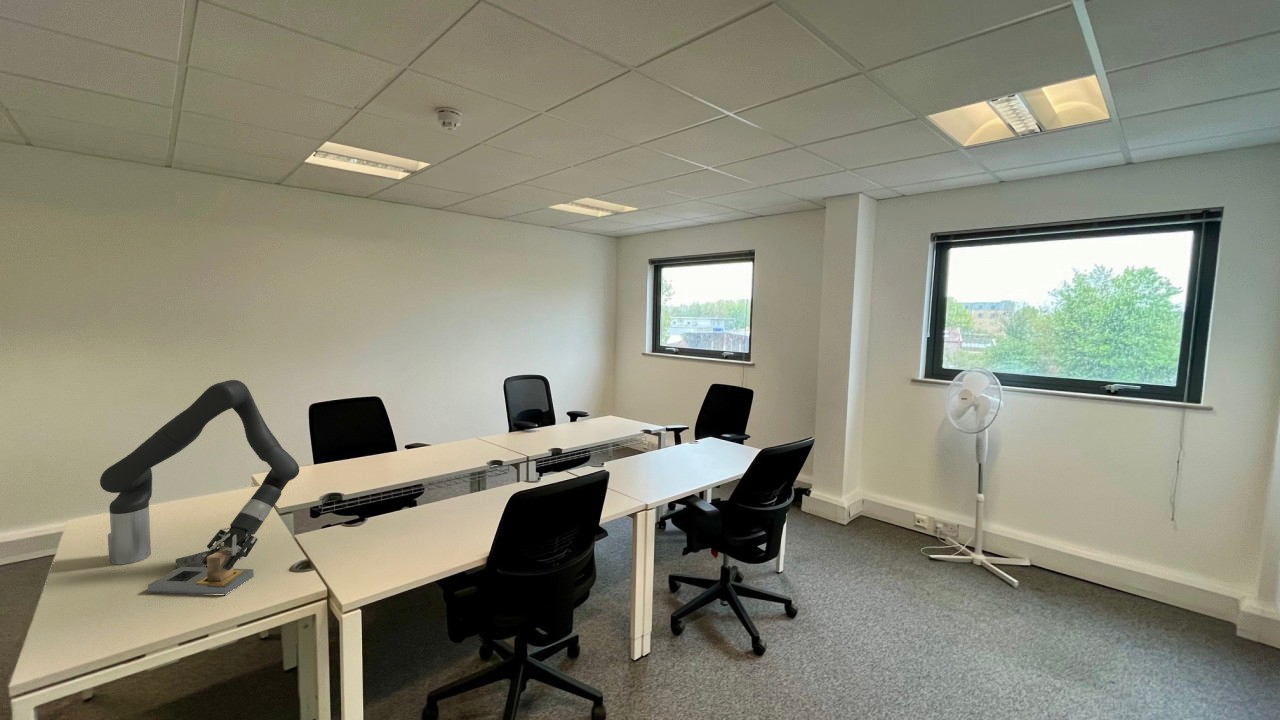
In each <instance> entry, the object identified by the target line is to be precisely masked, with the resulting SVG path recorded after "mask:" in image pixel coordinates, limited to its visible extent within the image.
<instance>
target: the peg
mask: <svg viewBox="0 0 1280 720" xmlns="http://www.w3.org/2000/svg"><path fill="white" fill-rule="evenodd" d="M232 553H233V551H222V550H220V551H218V552H216V553H214V554H212V555H210V556H208V557H207V567H206V568H207V579H208V582H223V581H225V580H226V579H228V578H229V577H231V576H232V575H234V569H235V568H234V566H233V567H232V568H231V569H230V570H226V569H224V568H223V566H224V564H225V563H226V562H227V560H228V559H229V557H230V556H233V555H232Z"/></svg>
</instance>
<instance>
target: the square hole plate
mask: <svg viewBox="0 0 1280 720" xmlns="http://www.w3.org/2000/svg"><path fill="white" fill-rule="evenodd" d="M254 574H255V573H254V569H250V568H234V575H232V576H231V577H229V578H228V579H226V580H225V581H223V582H208V579H207V567H180V568H176V569H174V570H172V571H171V572H169V573H167V574H166V575H163V576H162V577H160V578H158V579H156V580H154V581H153V582H150V583H149V584H147V589H148V591H147V592H148V594H167V595H169V594H170V595H172V594H173V595H190V594H224V595H226V594H227V593H228V592H230V591H232V590H233V589H235V588H236V589H238V588H239V587H241V586H242V585H244V584H245V583H247V582H248V581H249V579H250V580H251V579H252V577H253V578H254ZM186 578H190V579H187V580H186V581H182V580H184V579H186ZM246 581H247V582H246ZM244 582H245V583H244ZM243 583H244V584H243ZM241 584H242V585H241ZM240 585H241V586H240ZM238 586H239V587H238ZM237 587H238V588H237ZM236 589H235V590H236ZM233 591H234V590H233ZM233 591H232V592H233ZM230 593H231V592H230ZM227 595H228V594H227ZM227 595H226V596H227Z"/></svg>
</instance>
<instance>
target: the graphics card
mask: <svg viewBox="0 0 1280 720" xmlns="http://www.w3.org/2000/svg"><path fill="white" fill-rule="evenodd" d="M209 551H210V550H206V551H203V552H199V553H198V552H197V553H195V554H194V553H193V554H191V555H187V556H183V557H179V558H175V565H176V566H175V567H176V569H178V568H180V567H206V566H207V565H205V564H203V563H202V561H203V559H204V558H205V557H206V555H207V554H208V553H209ZM222 551H233V549H232V548H226V549H223V550H222ZM242 559H243V560H244V557H241V558H239V560H238V561H240V560H242ZM206 568H207V567H206Z"/></svg>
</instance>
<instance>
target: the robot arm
mask: <svg viewBox="0 0 1280 720" xmlns="http://www.w3.org/2000/svg"><path fill="white" fill-rule="evenodd" d="M231 409H232V410H233V411H235V413H236V414H237V415H238V416H239V418H240V420H241V422H242V424H243V429H244V433H245V438H246V441H247V442H248V444H249V446H250V448H251V449H252V450H253V452H254V453H255V454H256V456H257V457H258V458H259V460H261V461H262V462H265V463H267V465H269V467H270V468H271V469H270V470H269V471H268V473H267V475H266V476H265V478H264V480H263V482H262V483H261V485H260V486H259V487H258V489H257V490H256V491H255V492H254V494H253V495H252V496H251V498H250V499H249V500H248V501H247V502H246V503H245V504H244V505H243V507H242V508H241V509H240V511H239V512H238V513H237V515H236V516H235V517H234V519H233V521H231V523H230V529H228V531H226V530H224V529H219V531H218V532H217V533H216V534H215V535H214V536H213V538H212V539H211V540H210V542H209V543H208V544H207V545H206V548H207V549H208V551H209V553H208V554H207V555H206V557H205V558H204V559H203V561H202V563H203V564H205V565H207V557H208V556H210V555H212V554H214V553H216V552H218V551H220V550H223V549H226V548H232V549H233V553H232V555H233V556H230V557H229V559H228V560H227V562H226V563H225V564H224V566H223V568H224V569H226V570H230V569H231V568H232V567H234V566H235V564H236V563H237V561H239V560H238V559H239V558H241V557H243V558H247V557H248V556H249V554H250V552H252V549H253V548H254V547H255V544H256V543H257V542H258V538H257V537H255V536H254V535H255V534H256V533H257V532H258V530H259V529H260V528H261V526H262V525H263V523H264V522H265V520H266V519H268V516H269V514H270V513H271V511H272V510H273V508H274V507H275V505H276V504H277V502H278V501H279V499H280V497H281V495H282V492H283V490H284V488H285V487H286V486H287V484H288V483H289V482H290V481H292V480H294V479H295V478H297V476H299V473H300V466H299V464H298V462H297V461H296V459H294V457H293V456H292V455H290V453H288V451H286V449H284V448H283V447H282V445H281V444H280V442H279V441H278V439H277V438H276V436H275V435H274V434H273V433H272V432H271V429H270V428H269V427H268V425H267V423H266V422H265V420H264V417H263V416H262V414H261V413H260V409H259V408H258V406H257V403H256V402H255V400H254V397H253V395H252V393H251V391H250V390H249V387H248V386H247V385H246V384H245V383H244V382H242V381H240V380H238V379H237V380H236V379H229V380H225V381H222V382H217V383H215V384H212V385H210V386H209V387H208V388H207V389H206V390H204V392H202V394H200V396H199V397H197V399H196V400H195V401H194V402H193V403H191V405H190V406H189V407H187V408H186V409H184V410H183V411H181V412H180V413H179V414H177V415H176V416H175V417H174V418H172V419H171V420H169V421H168V422H166V423H165V424H164V425H163V426H162V427H160V428H159V429H158V430H157V431H155V432H154V433H153V434H152V435H151V436H150V437H148V438H147V439H146V440H145V441H144V442H142V443H141V444H140V445H138V447H137V448H136V449H134V450H133V451H132V452H131V453H129V454H128V455H126V456H125V457H123V458H122V459H120V460H118V462H115V463H114V464H112V465H111V466H109V467H107V468H106V469H105V470H104V471H103V472H102V474H101V476H100V479H99V485H100V487H101V488H102V490H103V491H104V492H107V493H111V494H118V495H117V496H116V498H114V499H113V500H112V501H111V502H110V504H109V507H108V508H109V522H110V532H109V533H108V534H107V542H108V543H107V545H108V549H107V550H108V561H109V563H110V562H111V563H112V564H114V565H127V564H132V563H137V562H140V561H143V560H144V559H147V558H148V557H150V556H151V555H152V547H151V541H152V540H151V522H150V521H151V520H150V500H151V498H152V494H153V493H152V492H153V470H152V468H153V467H155V466H156V465H159V464H160V463H162V462H164V461H166V460H168V459H170V458H172V457H173V456H175V455H176V454H178V453H180V452H181V451H183V450H184V449H185V448H187V447H188V446H189V445H190V444H192V443H193V442H194V441H195V440H196V439H197V438H198V437H199V436H200V435H201V433H202V431H203V430H204V428H205V427H206V425H207V424H208V423H209V422H210V421H213V419H215V418H216V417H217V416H219V415H221V414H223V413H224V412H226V411H228V410H231Z"/></svg>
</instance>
